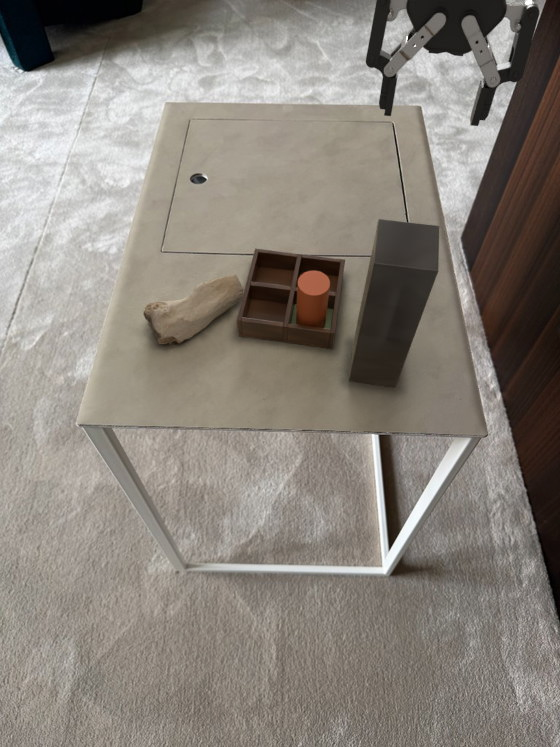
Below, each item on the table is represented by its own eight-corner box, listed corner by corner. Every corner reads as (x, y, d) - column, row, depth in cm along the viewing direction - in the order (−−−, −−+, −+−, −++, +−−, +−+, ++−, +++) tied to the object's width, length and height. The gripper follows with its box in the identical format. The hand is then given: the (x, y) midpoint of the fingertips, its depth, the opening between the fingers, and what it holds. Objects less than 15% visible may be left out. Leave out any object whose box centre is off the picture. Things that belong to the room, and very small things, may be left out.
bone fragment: (163, 355, 72) (156, 334, 68) (145, 321, 75) (137, 299, 71) (253, 314, 75) (252, 293, 71) (232, 284, 78) (230, 261, 74)
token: (327, 311, 75) (331, 272, 68) (323, 335, 73) (328, 297, 66) (298, 308, 75) (300, 268, 68) (293, 331, 73) (295, 293, 66)
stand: (397, 349, 72) (439, 225, 54) (395, 387, 69) (438, 271, 51) (353, 343, 73) (378, 218, 54) (348, 381, 70) (374, 263, 51)
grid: (342, 276, 79) (345, 259, 76) (332, 349, 72) (334, 333, 69) (256, 265, 80) (255, 248, 77) (238, 336, 74) (236, 320, 70)
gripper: (382, -89, 41) (355, 126, 53) (580, -77, 39) (505, 143, 51) (389, -106, 46) (364, 95, 58) (566, -96, 44) (501, 109, 56)
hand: (430, 117), depth 55 cm, fingers open, 8 cm apart
